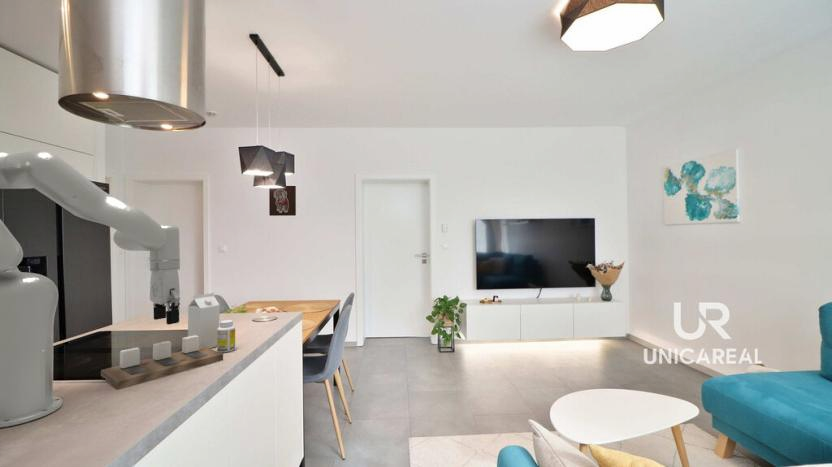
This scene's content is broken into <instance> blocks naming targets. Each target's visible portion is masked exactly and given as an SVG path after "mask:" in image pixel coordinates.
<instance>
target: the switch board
mask: <svg viewBox="0 0 832 467" xmlns="http://www.w3.org/2000/svg"><path fill="white" fill-rule="evenodd" d="M223 360H224V353H223V352H218V350H217V351H216V350H214V349H212V348H207V347H204V346H201V347H199V350H197V351H193V352H189V353H184V352H182V350H180V351H176V352H171V357H168V358H164V359H160V360H154V359H153V357H150V358H147V359H140V364H139V365H135V366H130V367H126V368H121V367H120V365H116V366H112V367H108V368H105V369H104V368H103V369H101V370H100V377H101V376H102V377H103V378H105V379H106V381H105V382H106V383H108V384H110V386H112V387H113V388H114V389H116V390H120V389H124V388H127V387H131V386H135V385H139V384H142V383H145V382H149V381H153V380H157V379H160V378H163V377H168V376H170V375H174V374H178V373H181V372H184V371H188V370H189V371H190V370H192V369H196V368H199V367H204V366H207V365H210V364H214V363H217V362H222V361H223ZM102 377H101V378H102ZM103 378H102V379H103Z"/></svg>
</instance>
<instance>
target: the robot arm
mask: <svg viewBox="0 0 832 467" xmlns="http://www.w3.org/2000/svg"><path fill="white" fill-rule="evenodd" d="M0 189H1V190H2V189H6V190H7V189H8V190H9V189H13V190H16V189H17V190H18V189H19V190H21V189H23V190H25V189H27V190H28V189H35V190H37V191H38V192H39V193H41V194H43V195H44V196H46V197H47V198H49V199H50V200H51V201H53V202H55V203H56V204H58V205H59V206H60V207H62V208H63V209H65V210H66V211H68V212H70V213H71V214H72V215H73V216H76V217H78V218H80V219H84V220H86V221H90V222H93V223H97V224H101V225H104V226H108V227H110V228H112V229H115V232H114V233H113V238H112V240H113V242H114V244H115V245H116V246H117V247H118V248H120V249H122V250H126V251H133V252H134V251H136V252H139V251H140V252H141V251H143V252H144V251H145V252H149V272H151V273H150V282H149V284H150V286H149V300H150V302H151V303H152V305H153V307H152V308H153V320H155V321H157V320H162V319H166V322H165V323H166V325H174V324H178V323H179V322H180V304H181V302H180V301H181V300H180V299H181V297H180V289H181V288H180V278H179V272H178V271H179V270H181V259H180V258H181V256H180V254H181V252H180V250H181V248H180V229H179V227H178V226H176V225H172V224H171V225H170V224H169V225H168V224H167V225H166V224H161V225H160V224H159V223H158V222H157V221H156V220H154V219H153V218H152V217H150V216H149V215H148V214H147V213H146V212H144V211H142V210H140V209H139V208H137V207H135V206H134V205H131V204H130V203H127V202H126V201H124V200H121V199H119V198H118V197H116V196H114V195H111V194H110V193H108V192H106V191H104V190H103V189H102V188H101V187H99V186H98V185H96V184H95V183H94V182H92V181H91V180H90V179H88V178H87V177H86V176H84V175H83V174H82V173H80V171H78V170H77V169H75V168H74V167H73V166H71V165H70V164H69V163H68V162H66V161H65V160H64V159H62V157H59V156H58V155H57V154H54V153H53V152H50V151H46V150H30V151H22V152H2V151H1V152H0ZM23 257H24V251H23V248H22V245H21V243H20V242H18V240H17V239H16V238H15V237H14V235H13V234H12V233H11V231H10V230H9V229H8V227H7V226H6V225H5V223H4V222H3V221H2V219H1V218H0V428H6V427H7V428H8V427H11V426H17V425H20V424H25V423H28V422H32V421H35V420H37V419H38V420H39V419H40V418H42V417H46V416H47V415H49V414H51V413H53V412H56V411H57V410H58V409H60V408H61V406H63V405H62V404H63V399H62V398H61V397H59V396H54V327H55V326H54V324H55V317H56V316H55V315H56V310H57V306H58V303H59V290H58V287H57V285H56V284H55V282H54V281H53V280H51V279H50V278H49V277H47V276H45V275H42V274H40V273H34V272H22V271H20V270H19V268H18V266H20V265H19V264H20V263H21V262H22V261H23Z"/></svg>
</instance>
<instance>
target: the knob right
mask: <svg viewBox="0 0 832 467" xmlns="http://www.w3.org/2000/svg"><path fill="white" fill-rule="evenodd" d="M181 339H182V340H181V341H182V342H181V351H182V352H184V353H189V352H193V351H197V350H199V336H197V335H194V336H189V337H188V336H185V337H182V338H181Z"/></svg>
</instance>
